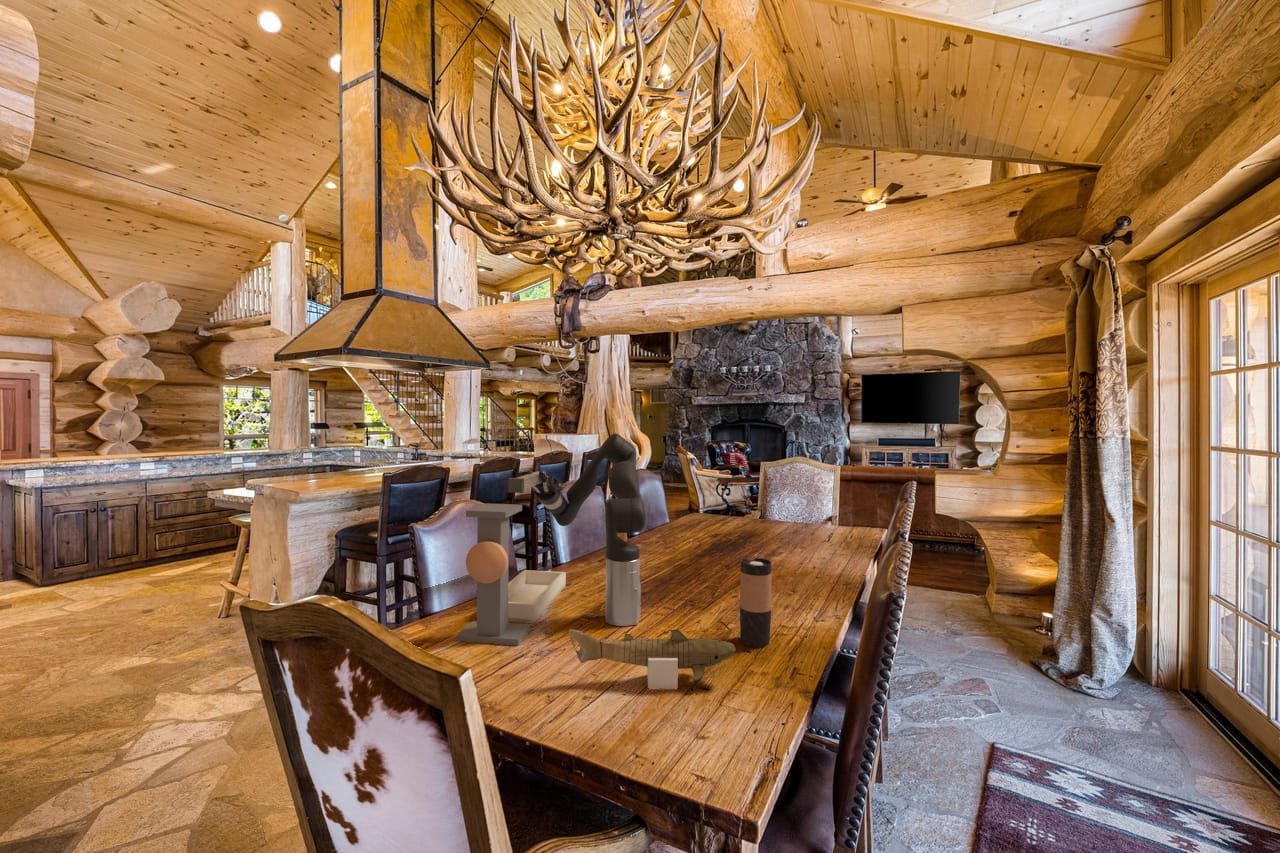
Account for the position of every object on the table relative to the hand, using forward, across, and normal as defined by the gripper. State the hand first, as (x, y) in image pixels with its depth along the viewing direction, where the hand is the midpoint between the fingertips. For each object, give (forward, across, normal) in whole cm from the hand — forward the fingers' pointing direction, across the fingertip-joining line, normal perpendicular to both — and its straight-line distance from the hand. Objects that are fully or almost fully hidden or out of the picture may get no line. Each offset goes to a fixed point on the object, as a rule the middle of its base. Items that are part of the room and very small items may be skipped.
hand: (534, 474), depth 160 cm
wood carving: (+21, +42, +56) cm, 73 cm away
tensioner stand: (+6, 0, +47) cm, 47 cm away
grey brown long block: (+2, 0, +5) cm, 5 cm away
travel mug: (0, +65, +44) cm, 78 cm away
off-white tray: (-15, 0, +35) cm, 38 cm away
